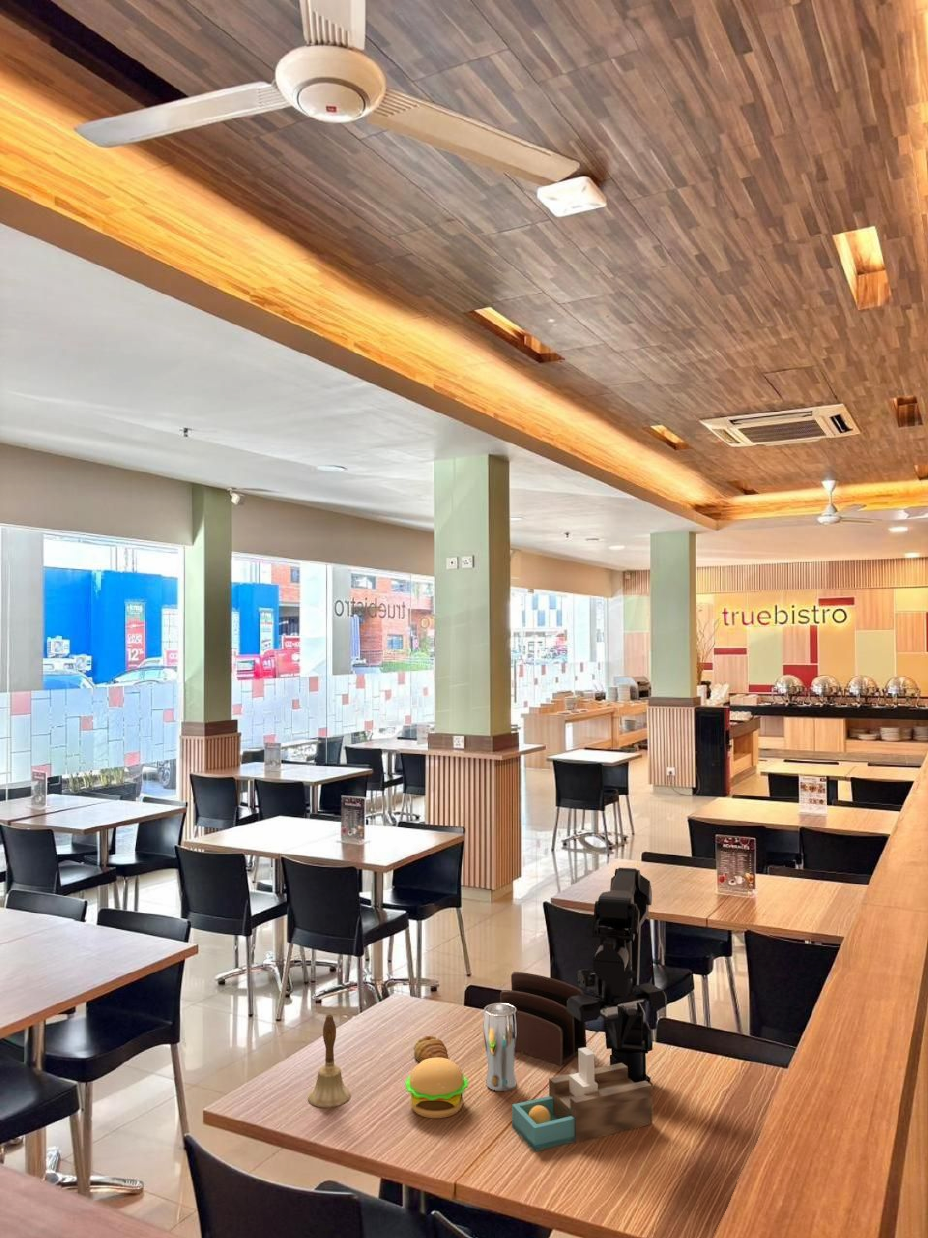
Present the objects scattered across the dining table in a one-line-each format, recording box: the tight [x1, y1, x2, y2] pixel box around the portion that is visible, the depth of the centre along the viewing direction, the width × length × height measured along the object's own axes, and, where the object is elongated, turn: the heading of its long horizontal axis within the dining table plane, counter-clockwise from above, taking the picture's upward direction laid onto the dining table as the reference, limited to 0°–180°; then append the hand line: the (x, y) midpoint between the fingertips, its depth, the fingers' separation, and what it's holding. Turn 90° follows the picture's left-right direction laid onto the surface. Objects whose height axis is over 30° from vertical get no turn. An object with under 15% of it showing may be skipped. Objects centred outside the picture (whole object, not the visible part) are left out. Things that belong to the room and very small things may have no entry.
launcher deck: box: [548, 1063, 653, 1144], centre depth 169 cm, size 16×10×7 cm, turn 113°
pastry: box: [413, 1035, 449, 1063], centre depth 194 cm, size 9×7×4 cm
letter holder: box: [499, 971, 587, 1067], centre depth 200 cm, size 10×20×14 cm, turn 51°
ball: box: [529, 1105, 551, 1124], centre depth 164 cm, size 4×4×4 cm
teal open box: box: [511, 1095, 576, 1152], centre depth 164 cm, size 8×9×4 cm
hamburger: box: [405, 1058, 469, 1119], centre depth 174 cm, size 12×12×9 cm
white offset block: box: [569, 1046, 598, 1096], centre depth 167 cm, size 3×5×8 cm, turn 23°
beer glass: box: [482, 1002, 518, 1092], centre depth 183 cm, size 7×7×15 cm
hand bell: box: [307, 1013, 352, 1109], centre depth 178 cm, size 8×8×16 cm
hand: (617, 1048), depth 170 cm, fingers closed
